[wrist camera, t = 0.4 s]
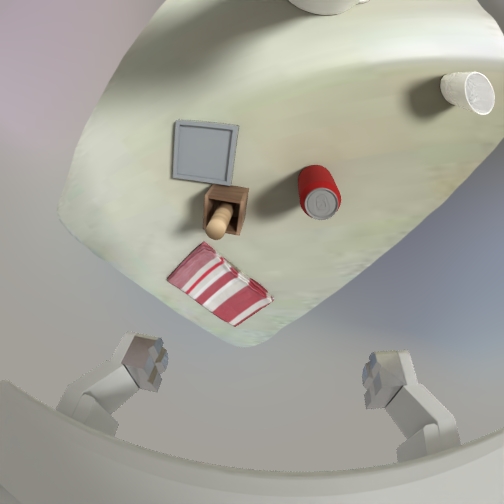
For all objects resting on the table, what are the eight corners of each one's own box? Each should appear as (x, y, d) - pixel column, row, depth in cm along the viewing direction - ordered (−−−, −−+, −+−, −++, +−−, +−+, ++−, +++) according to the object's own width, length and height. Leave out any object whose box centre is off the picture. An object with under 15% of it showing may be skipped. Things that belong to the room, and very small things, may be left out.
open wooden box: (213, 182, 54) (205, 194, 48) (249, 188, 54) (244, 201, 48) (211, 214, 58) (202, 228, 52) (244, 219, 58) (239, 235, 52)
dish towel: (204, 238, 62) (201, 244, 60) (276, 295, 69) (276, 302, 67) (168, 276, 70) (164, 282, 68) (234, 323, 77) (233, 330, 75)
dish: (178, 119, 47) (175, 120, 46) (239, 125, 47) (237, 126, 46) (175, 175, 54) (172, 177, 53) (231, 183, 54) (230, 186, 52)
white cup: (465, 75, 32) (493, 77, 24) (466, 110, 36) (494, 118, 28) (436, 67, 33) (463, 67, 25) (438, 104, 38) (465, 110, 29)
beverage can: (301, 198, 54) (303, 226, 44) (294, 166, 50) (296, 187, 40) (334, 193, 52) (344, 220, 42) (329, 161, 48) (340, 181, 39)
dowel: (221, 194, 54) (206, 221, 45) (237, 196, 54) (225, 224, 44) (220, 208, 56) (205, 237, 46) (235, 210, 56) (223, 241, 46)
